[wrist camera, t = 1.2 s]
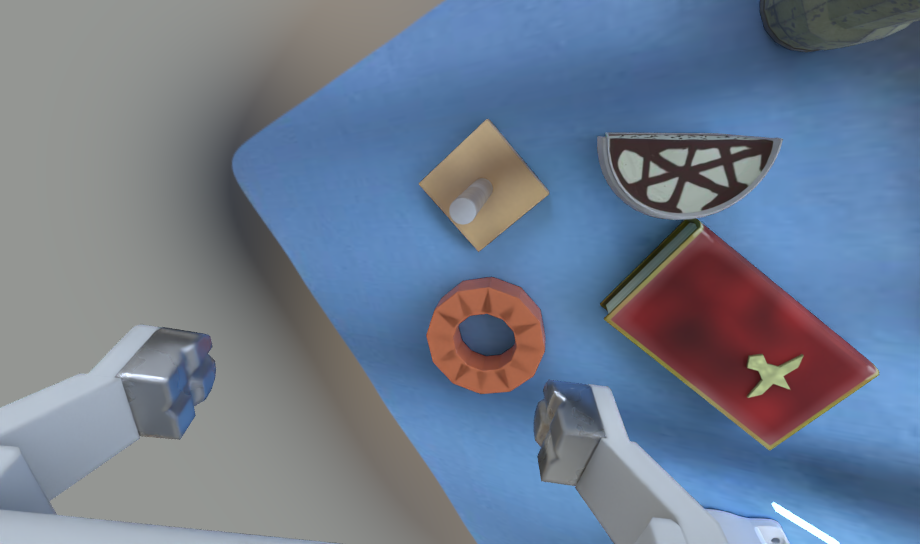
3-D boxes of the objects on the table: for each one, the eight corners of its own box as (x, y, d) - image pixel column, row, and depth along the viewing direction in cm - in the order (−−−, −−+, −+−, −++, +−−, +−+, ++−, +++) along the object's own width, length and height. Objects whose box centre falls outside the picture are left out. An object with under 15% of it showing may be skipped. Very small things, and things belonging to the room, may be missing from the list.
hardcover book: (690, 214, 42) (704, 224, 38) (855, 350, 44) (886, 373, 40) (599, 303, 47) (604, 321, 43) (752, 425, 48) (771, 452, 44)
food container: (582, 199, 44) (591, 222, 34) (588, 132, 42) (600, 137, 32) (721, 203, 42) (771, 229, 32) (734, 133, 40) (791, 139, 30)
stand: (549, 191, 44) (550, 218, 32) (480, 248, 47) (458, 291, 35) (488, 118, 43) (466, 120, 31) (422, 181, 46) (379, 204, 34)
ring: (566, 339, 49) (568, 353, 46) (483, 395, 53) (479, 411, 50) (493, 255, 47) (490, 265, 44) (413, 320, 51) (405, 333, 48)
